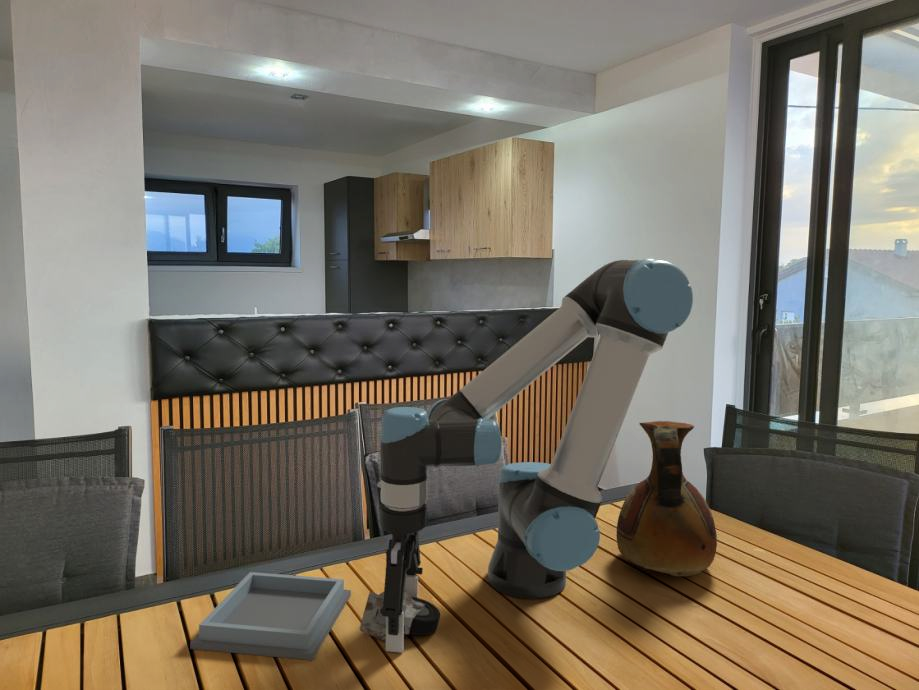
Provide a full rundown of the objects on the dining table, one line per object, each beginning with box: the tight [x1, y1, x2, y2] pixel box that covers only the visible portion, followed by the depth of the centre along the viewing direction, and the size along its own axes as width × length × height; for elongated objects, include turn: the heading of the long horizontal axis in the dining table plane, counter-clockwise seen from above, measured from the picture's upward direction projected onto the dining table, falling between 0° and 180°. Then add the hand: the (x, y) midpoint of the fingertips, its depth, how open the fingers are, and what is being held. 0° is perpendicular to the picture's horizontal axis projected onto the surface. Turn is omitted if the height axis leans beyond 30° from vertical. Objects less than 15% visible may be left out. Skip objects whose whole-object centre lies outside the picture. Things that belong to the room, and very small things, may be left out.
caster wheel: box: [359, 590, 441, 642], centre depth 107 cm, size 7×11×10 cm
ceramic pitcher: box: [616, 420, 718, 577], centre depth 131 cm, size 20×20×30 cm
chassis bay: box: [189, 571, 352, 661], centre depth 109 cm, size 20×20×4 cm
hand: (402, 629), depth 107 cm, fingers open, 11 cm apart
